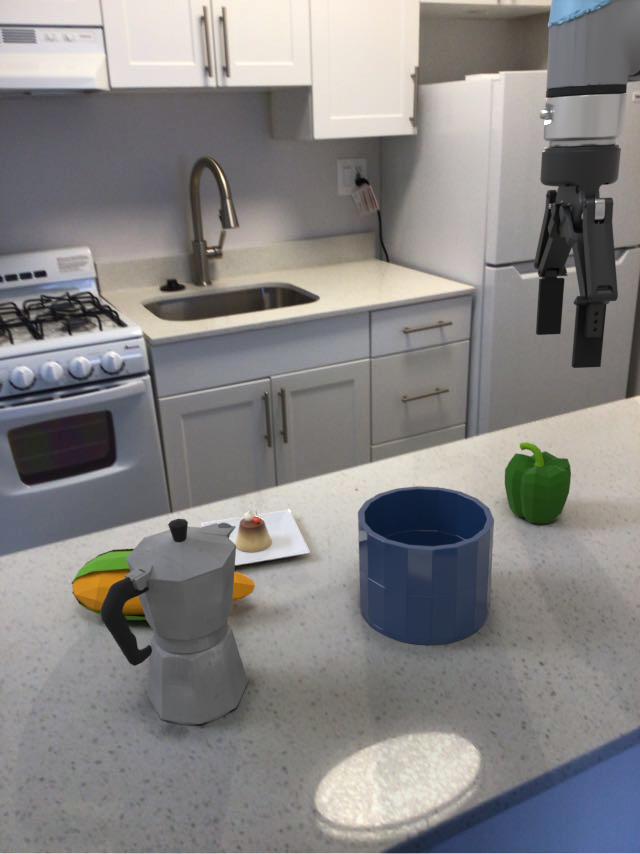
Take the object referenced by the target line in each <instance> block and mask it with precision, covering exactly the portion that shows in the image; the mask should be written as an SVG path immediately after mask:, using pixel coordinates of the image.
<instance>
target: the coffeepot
mask: <svg viewBox="0 0 640 854" xmlns="http://www.w3.org/2000/svg"><path fill="white" fill-rule="evenodd" d="M188 524H189V522H188V520H186V519H185V518H176V519H175V518H174V519H172V520H170V521H169V522H168V524H167V525H168V529H167V530H164V531H161V532H158V533H155V534H152V535H149V536H148V535H147V536H144V537H142V539H141V540H140V541H139V543H138V544H137V545H136V546H135V547H134V548H135V549H134V548H133V549H134V550H133V551H132V552H131V553H130V554H129V555H128V557H127V558H126V561H127V563H128V566H129V569H130V572H129V573H128V574H126V575H124V576H125V578H124V579H123V580H120V581H118V582H116V583H114V584H113V585H112V586H111V587H110V589H109V591H108V593H107V596H106V598H105V600H104V602H103V604H102V607H101V615H100V617H101V619H102V622H103V624H104V626H105V627H106V628H107V630H108V631H109V633H110V634H111V636H112V638H113V640H114V641H115V643H116V644H117V646H118V647H119V649H120V650H121V652H122V654H123V656H124V657H125V658H126V660H127V662H128V664H130V665H131V666H134V667H135V666H138V665H140V664H142V663H143V662H145V661H146V660H147V659H148V658H149V664H148V668H149V669H148V680H147V681H148V684H147V698H148V700H149V701H150V703H151V705H152V707H153V709H154V711H155V712H156V713H157V714H158V716H159V717H160V719H161V720H163V721H166V722H168V723H169V722H170V723H173V724H177V725H183V726H184V725H185V726H193V725H202V724H207V723H211V722H213V721H216V720H219V719H221V718H222V717H224V716H226V715H228V714H229V713H230V712H231V711H233V710H234V709H236V708H237V707H238V705H239V703H240V702H241V700H242V698H243V695H244V694H245V693H244V692H245V689H246V687H247V686H248V683H249V680H248V677H247V673H246V670H245V667H244V663H243V661H242V657H241V655H240V651H239V648H238V644H237V641H236V637H235V634H234V631H233V628H232V626H231V625H230V624H229V619H228V617H229V615H230V613H231V611H232V609H233V602H232V597H233V584H234V571H236V570H235V569H236V566H235V556H236V545H235V544H234V543H233V542H232V541H231V540H230V539H229V537H230V534H231V533H232V531H233V530H234V529H235V528H236V527H235V526H231V525H230V524H228V523H220V524H217V523H215V524H211V525H208V526H204V527H200V526H188ZM136 596H139V599H140V602H141V605H142V608H143V611H144V614H145V615H144V617H146V620H145V621H146V622H147V624H148V625H149V626H150V628H151V630H153V631H152V632H153V635H152V638H151V640H150V644H148V645H147V646H146V647H144V648H142V649H139V647H138V640H137V636H136V635H135V634H134V633H133V632H132V630H131V628H130V626H129V623H128V620H127V619H126V617H125V616H126V615H124V614H123V613H122V610H123V606H124V604H125V603H126V602H127V601H128V600H130V599H132V598H134V597H136Z"/></svg>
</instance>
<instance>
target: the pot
mask: <svg viewBox="0 0 640 854" xmlns="http://www.w3.org/2000/svg"><path fill="white" fill-rule="evenodd" d="M494 527H495V518H494V516H493V514H492V511H491V509H490V507H488V506H487V505H486V504H485V503H484V502H482V501H481V500H480V499H479V498H477V497H475V496H472V495H470V494H467V493H465V492H463V491H460V490H455V489H451V488H446V487H441V486H422V485H421V486H420V485H418V486H416V485H415V486H406V487H398V488H394V489H393V488H392V489H390V490H387V491H383V492H380V493H377V494H375V495H373V496H372V497H370V498H369V499H367V500H365V501H364V502H363V504H362V505H361V506H360V508H359V509H358V511H357V531H358V533H357V535H358V537H357V538H358V572H359V573H358V577H359V578H358V579H359V580H358V581H359V607H360V612H361V615H362V617H363V618H364V620H365V621H366V623H367V624H368V625H369V626H370V627H371V628H373V630H375V631H377V632H378V633H380V634H382V635H384V636H385V637H387V638H390V639H393V640H394V641H395V640H396V641H399V642H402V643H407V644H412V645H421V646H435V645H437V646H438V645H446V644H452V643H454V642H458V641H461V640H465V639H466V638H468V637H470V636H472V635H474V634H475V633H477V632H478V631H479V630H480V629H481V628H482V627H484V625H485V623H486V621H487V619H488V617H489V612H490V611H489V610H490V606H491V594H492V593H491V592H492V591H491V590H492V569H493V551H494V550H493V547H494V532H495V531H494V529H495V528H494Z"/></svg>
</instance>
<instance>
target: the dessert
mask: <svg viewBox="0 0 640 854" xmlns="http://www.w3.org/2000/svg"><path fill="white" fill-rule="evenodd" d="M215 523H217V524H220V523H228V524H230V525H231V526H235V527H236V528H235V529H234V530H233V531H232V533H231V534H230V537H229V539H230V540H231V541H232V542H233V543H234V544H235V545H236V556H235V567H240V566H247V565H252V564H259V563H263V562H270V561H277V560H282V559H288V558H289V559H290V558H295V557H300V556H302V555H307V554H310V553H311V551H310V549H309V547H308V544H307V543H306V540H305V538H304V536H303V534H302V532H301V530H300V528H299V526H298V524H297V522H296V519H295V518H294V515H293V514H292V511H291V510H290V509H289V508H288V509H282V510H276V511H269V512H262V513H258V512H257V511H255V513H254V512H253V511H252V510H247V511H246V512H244V515H243V516H236V517H230V518H223V519H217V520H210V521H203V522H200V526H201V527H200V528H202V527H204V526H208V525H211V524H215Z"/></svg>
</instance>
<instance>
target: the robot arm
mask: <svg viewBox="0 0 640 854" xmlns="http://www.w3.org/2000/svg"><path fill="white" fill-rule="evenodd" d="M547 28H548V50H547V69H546V86H545V87H546V91H545V104H544V105H545V106H544V107H545V108H542V109H540V111H539V113H538V114H539V118H540V120H544V123H543V140H544V141H546V142H549V144H548V146H545V147H544V148H543V150H542V151H541V160H540V161H541V163H540V178H539V179H540V182H541V184H542V185H544V186H548V187H557V189H547V191H546V194H545V207H544V214H543V218H542V223H541V228H540V234H539V238H538V244H537V247H536V252H535V256H534V261H533V267H534V269H535V270H537V275H538V277H539V278H538V293H537V306H536V307H537V310H536V322H535V323H536V325H535V326H536V327H535V335H537V336H545V335H546V336H548V335H550V336H551V335H562V333H561V331H562V321H563V320H562V319H563V306H564V305H563V304H564V293H565V292H564V291H565V277H568V275H569V274H568V271H567V267H566V263H567V262H568V258H569V256H570V253H571V250H572V255H573V261H574V266H575V273H576V280H577V284H578V289H579V291H578V292H579V295H577V296H576V297H575V299H574V300H573V305H574V306H575V317H574V331H573V342H572V352H571V353H572V355H571V367H572V368H573V369H585V368H587V369H588V368H601V366H602V355H603V344H604V335H605V324H606V313H607V305H609V303H610V302H616V301H617V300H618V297H619V292H618V290H619V289H618V279H617V278H618V277H617V266H616V252H615V251H616V250H615V241H614V227H613V217H614V216H613V214H614V199H613V197H601V196H600V195H601V192H600V188H601V186H609V185H613V184H615V183H616V182H617V181H618V180H619V173H620V163H621V162H620V161H621V154H622V148H621V147H620V145H619V144H616V143H617V139H621V137H623V136H624V129H625V128H624V127H625V118H626V117H625V116H626V108H627V107H626V106H627V97H628V94H627V89H628V83H636V82H640V0H551V2H550V10H549V19H548V22H547Z"/></svg>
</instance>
